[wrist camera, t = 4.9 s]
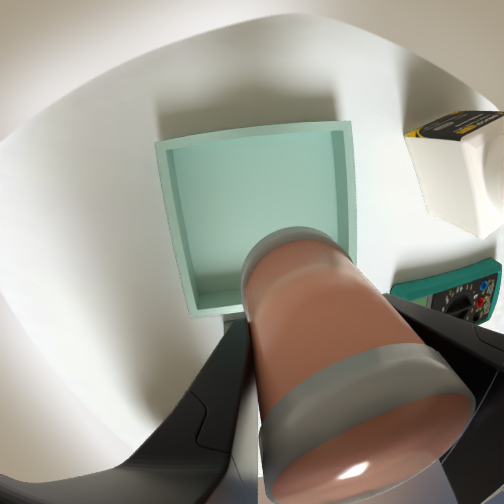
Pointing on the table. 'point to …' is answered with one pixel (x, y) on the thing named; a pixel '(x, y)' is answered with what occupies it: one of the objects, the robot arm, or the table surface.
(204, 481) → the robot arm
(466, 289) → the digital multimeter
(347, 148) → the tray
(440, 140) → the medicine bottle
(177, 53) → the table surface
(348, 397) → the fuse
